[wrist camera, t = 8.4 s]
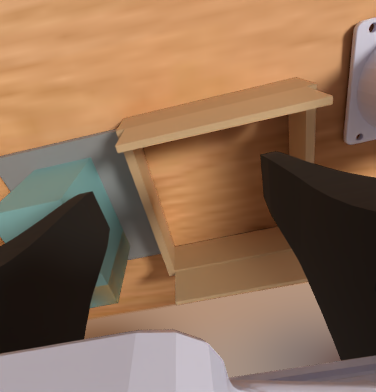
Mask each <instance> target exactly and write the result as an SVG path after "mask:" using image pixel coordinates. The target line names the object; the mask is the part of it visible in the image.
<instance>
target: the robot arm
mask: <svg viewBox="0 0 376 392" xmlns="http://www.w3.org/2000/svg"><path fill="white" fill-rule="evenodd" d="M372 23H373V24H374V28H373V30H372V31H371V32H370V31H369V27H370V25H371V24H372ZM358 134H360V137H359V138H357V139H356V137H357V135H358ZM343 139H344V142H345V143H347V144H349V145H353V144H357V143H362V142H367V141H371V140H376V17H374V18H370V19H366V20H362V21H360V22H359V23H358V24H357V25H356V26H355V28H354V31H353V40H352V51H351V62H350V73H349V84H348V95H347V106H346V116H345V127H344V138H343ZM260 157H261V169H262V181H263V193H264V199H265V201H266V204H267V206H268V208H269V211H270V213H271V215H272V217H273V219H274V221H275V222H276V224H277V226H278V227H279V229H280V231H281V232H282V234H283V236H284V237H285V239H286V240H287V242H288V244H289V245H290V247H291V249H292V250H293V252H294V254H295V255H296V257H297V259H298V261H299V263H300V265H301V267H302V269H303V271H304V273H305V276H306V278H307V280H308V282H309V284H310V286H311V289H312V291H313V293H314V295H315V298H316V300H317V303H318V305H319V307H320V309H321V312H322V314H323V316H324V319H325V321H326V324H327V326H328V329H329V331H330V333H331V336H332V338H333V341H334V343H335V346H336V349H337V351H338V354H339V356H340V359H341V361H336V362H329V363H323V364H316V365H309V366H303V367H296V368H290V369H283V370H276V371H270V372H264V373H257V374H250V375H244V376H237V377H231V378H228V375H227V372H226V368H225V364H224V361H223V360H222V358H221V357H220V356H219V355H218V354H217V353H216V352H215V350H214V349H213V348H212V347H211V346H210V345H209V343H207V342H206V341H204V340H202V339H200V338H197V337H194V336H191V335H188V334H185V333H182V332H180V331H177V330H136V331H131V332H125V333H119V334H113V335H107V336H101V337H95V338H89V339H84V336H85V330H86V324H87V319H88V314H89V309H90V304H91V300H92V296H93V292H94V289H95V286H96V283H97V280H98V276H99V273H100V270H101V267H102V264H103V261H104V257H105V254H106V251H107V247H108V241H109V233H110V227H109V225H108V223H107V221H106V219H105V217H104V214H103V212H102V210H101V208H100V206H99V204H98V202H97V200H96V198H95V196H94V193H93V191H91V192H86V193H82V194H78V195H76V196H74V197H73V198H71V199H69V200H68V201H66V202H65V203H63V204H62V205H61V206H59V207H58V208H56V209H55V210H54V211H52V212H51V213H50V214H48V215H47V216H45V217H44V218H43V219H41V220H40V221H38V222H37V223H36V224H34V225H33V226H31V227H30V228H28V229H27V230H25V231H24V232H22V233H21V234H19V235H18V236H16V237H15V238H13V239H12V240H10V241H8V242H7V243H5V244H3V245H2V246H0V392H376V178H374V177H368V176H362V175H357V174H352V173H347V172H342V171H338V170H334V169H331V168H327V167H323V166H320V165H317V164H313V163H310V162H307V161H304V160H301V159H299V158H296V157H293V156H290V155H287V154H284V153H281V152H276V151H275V152H270V153H266V154H261V155H260Z"/></svg>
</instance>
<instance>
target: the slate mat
mask: <svg viewBox="0 0 376 392" xmlns="http://www.w3.org/2000/svg"><path fill="white" fill-rule="evenodd" d="M116 130H117V129H114V130H110V131H105V132H101V133H97V134H93V135H88V136H84V137H80V138H76V139H71V140H67V141H63V142H59V143H54V144H50V145H46V146H42V147H37V148H33V149H29V150H25V151H20V152H16V153H12V154H8V155H4V156H0V176H1V178H2V179H3V181H4V182H5V184H6V185H7V187H8V188H9V190H10V191H12V190H14V189H15V188H16V187H17V186H18V185H19V184H20V183H21V182H22V181H23V180H24V179H25V178H26V177H28V176H29V175H30V174H31V173H32V172H33V171H34V170H37V169H42V168H46V167H50V166H55V165H59V164H64V163H68V162H72V161H77V160H81V159H85V158H90V157H91V159H92V161H93V164H94V166H95V168H96V170H97V172H98V175H99V177H100V179H101V181H102V184H103V186H104V188H105V190H106V193H107V195H108V197H109V199H110V202H111V204H112V206H113V208H114V211H115V213H116V215H117V217H118V220H119V222H120V224H121V226H122V229H123V231H124V233H125V235H126V238H127V240H128V242H129V244H130V251H129V255H128V260H131V259H136V258H141V257H146V256H151V255H157V254H161V252H160V249H159V247H158V244H157V241H156V239H155V236H154V233H153V230H152V228H151V225H150V222H149V220H148V217H147V214H146V212H145V209H144V206H143V204H142V201H141V198H140V196H139V193H138V190H137V187H136V185H135V182H134V179H133V177H132V174H131V171H130V169H129V166H128V163H127V161H126V158H125V155H124V152H121V153H118V152H117V150H116V147H115V145H116V144H117V142H118V140H119V139H118V136H117V134H116Z"/></svg>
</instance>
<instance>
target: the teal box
mask: <svg viewBox="0 0 376 392" xmlns="http://www.w3.org/2000/svg"><path fill="white" fill-rule="evenodd" d="M91 191H93V193H94V196H95V198H96V200H97V202H98V204H99V206H100V208H101V210H102V212H103V214H104V217H105V219H106V221H107V223H108V225H109V227H110V233H109V241H108V247H107V251H106V254H105V257H104V261H103V264H102V267H101V270H100V273H99V276H98V280H97V283H96V286H95V289H94V292H93V296H92V300H91V304H90V308H93V307H99V306H104V305H110V304H115V303H118V301H119V296H120V292H121V287H122V283H123V278H124V274H125V269H126V264H127V260H128V255H129V251H130V244H129V242H128V240H127V238H126V235H125V233H124V231H123V229H122V226H121V224H120V222H119V220H118V217H117V215H116V213H115V211H114V208H113V206H112V204H111V202H110V199H109V197H108V195H107V193H106V190H105V188H104V186H103V184H102V181H101V179H100V177H99V175H98V172H97V170H96V168H95V166H94V164H93V161H92V159H91V157H90V158H85V159H81V160H77V161H72V162H68V163H64V164H59V165H55V166H50V167H46V168H42V169H37V170H34V171H33V172H32V173H31V174H30V175H29V176H28V177H26V178H25V179H24V180H23V181H22V182H21V183H20V184H19V185H18V186H17V187H16V188H15V189H14V190H12V191H11V192H10V193H9V194H8V195H7V196H6V197H5V198H4V199H3V200H2V201H1V202H0V237H1V238H2V240H3V241H4V242H5V243H7V242H8V241H10V240H12V239H13V238H15V237H16V236H18V235H19V234H21V233H22V232H24V231H25V230H27V229H28V228H30V227H31V226H33V225H34V224H36V223H37V222H38V221H40V220H41V219H43V218H44V217H45V216H47V215H48V214H50V213H51V212H52V211H54V210H55V209H56V208H58V207H59V206H61V205H62V204H63V203H65V202H66V201H68V200H69V199H71V198H73V197H74V196H76V195H78V194H82V193H86V192H91Z"/></svg>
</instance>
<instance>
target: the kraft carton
mask: <svg viewBox="0 0 376 392" xmlns="http://www.w3.org/2000/svg"><path fill="white" fill-rule="evenodd" d="M332 104H333V96H332V95H329V94H326V93H324V92H321V91H318V90H317V84H316V83H313V82H310V81H307V80H304V79H301V78H297V77H295V78H291V79H287V80H283V81H279V82H274V83H270V84H266V85H262V86H258V87H253V88H249V89H245V90H241V91H237V92H232V93H228V94H224V95H220V96H216V97H211V98H207V99H203V100H199V101H195V102H190V103H186V104H182V105H178V106H174V107H169V108H165V109H161V110H157V111H153V112H148V113H144V114H140V115H136V116H132V117H127V118H124V119H123V120H122V122H121V124H120V125H119V127H118V128H117V130H116V134H117V136H118V139H119V140H118V142H117V144H116V145H115V147H116V150H117V152H118V153H121V152H124V155H125V158H126V161H127V163H128V166H129V169H130V171H131V174H132V177H133V179H134V182H135V185H136V187H137V190H138V193H139V196H140V198H141V201H142V204H143V206H144V209H145V212H146V214H147V217H148V220H149V222H150V225H151V228H152V230H153V233H154V236H155V239H156V241H157V244H158V247H159V249H160V252H161V255H162V257H163V260H164V263H165V265H166V268H167V271H168V274H169V276H175V303H176V305H181V304H186V303H192V302H198V301H203V300H209V299H215V298H220V297H226V296H232V295H237V294H243V293H249V292H254V291H260V290H265V289H271V288H277V287H282V286H288V285H294V284H299V283H305V282H308V280H307V278H306V276H305V273H304V271H303V269H302V267H301V265H300V263H299V261H298V259H297V257H296V255H295V254H294V252H293V250H292V249H291V247H290V245H289V244H288V242H287V240H286V239H285V237H284V236H283V234H282V232H281V231H280V229H279V227H273V228H268V229H263V230H258V231H252V232H247V233H242V234H237V235H232V236H227V237H222V238H217V239H211V240H206V241H201V242H196V243H191V244H186V245H181V246H174V243H173V240H172V237H171V234H170V231H169V228H168V225H167V222H166V218H165V215H164V212H163V209H162V206H161V203H160V200H159V197H158V194H157V191H156V188H155V185H154V182H153V179H152V176H151V173H150V170H149V167H148V164H147V161H146V158H145V155H144V152H143V149H142V148H143V147H147V146H152V145H156V144H161V143H165V142H169V141H174V140H178V139H183V138H187V137H191V136H196V135H200V134H204V133H209V132H213V131H218V130H222V129H226V128H231V127H235V126H240V125H244V124H248V123H253V122H257V121H262V120H266V119H270V118H275V117H279V116H284V115H288V121H289V155H290V156H293V157H296V158H299V159H301V160H304V161H307V162H310V163H313V164H314V159H315V129H316V108H319V107H323V106H327V105H332Z"/></svg>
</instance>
